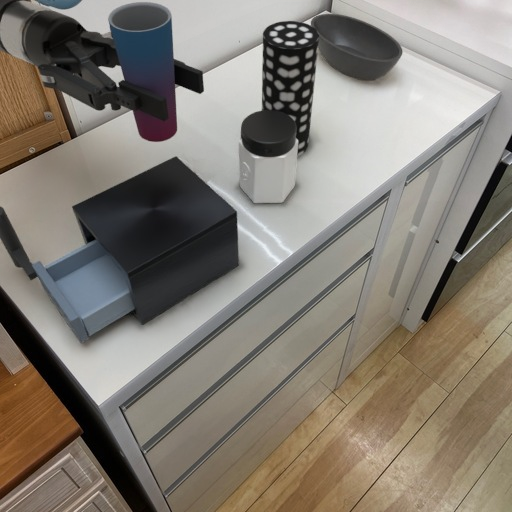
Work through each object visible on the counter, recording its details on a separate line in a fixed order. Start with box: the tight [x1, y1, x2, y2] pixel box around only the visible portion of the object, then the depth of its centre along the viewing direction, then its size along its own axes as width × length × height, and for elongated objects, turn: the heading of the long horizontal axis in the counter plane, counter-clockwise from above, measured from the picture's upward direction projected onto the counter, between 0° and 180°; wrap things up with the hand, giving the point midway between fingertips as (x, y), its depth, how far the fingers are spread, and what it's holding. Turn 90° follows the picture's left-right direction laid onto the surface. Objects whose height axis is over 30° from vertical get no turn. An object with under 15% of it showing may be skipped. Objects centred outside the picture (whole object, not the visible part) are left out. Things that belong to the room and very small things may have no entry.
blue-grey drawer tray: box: [0, 205, 135, 344], centre depth 69 cm, size 16×18×10 cm
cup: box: [107, 1, 178, 143], centre depth 64 cm, size 7×7×15 cm
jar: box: [238, 110, 298, 204], centre depth 82 cm, size 9×8×12 cm
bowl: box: [310, 13, 404, 82], centre depth 108 cm, size 12×22×6 cm, turn 39°
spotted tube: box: [261, 20, 319, 157], centre depth 86 cm, size 8×8×20 cm
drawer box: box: [71, 155, 240, 326], centre depth 72 cm, size 16×14×11 cm
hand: (183, 95), depth 62 cm, fingers closed on cup, 6 cm apart
